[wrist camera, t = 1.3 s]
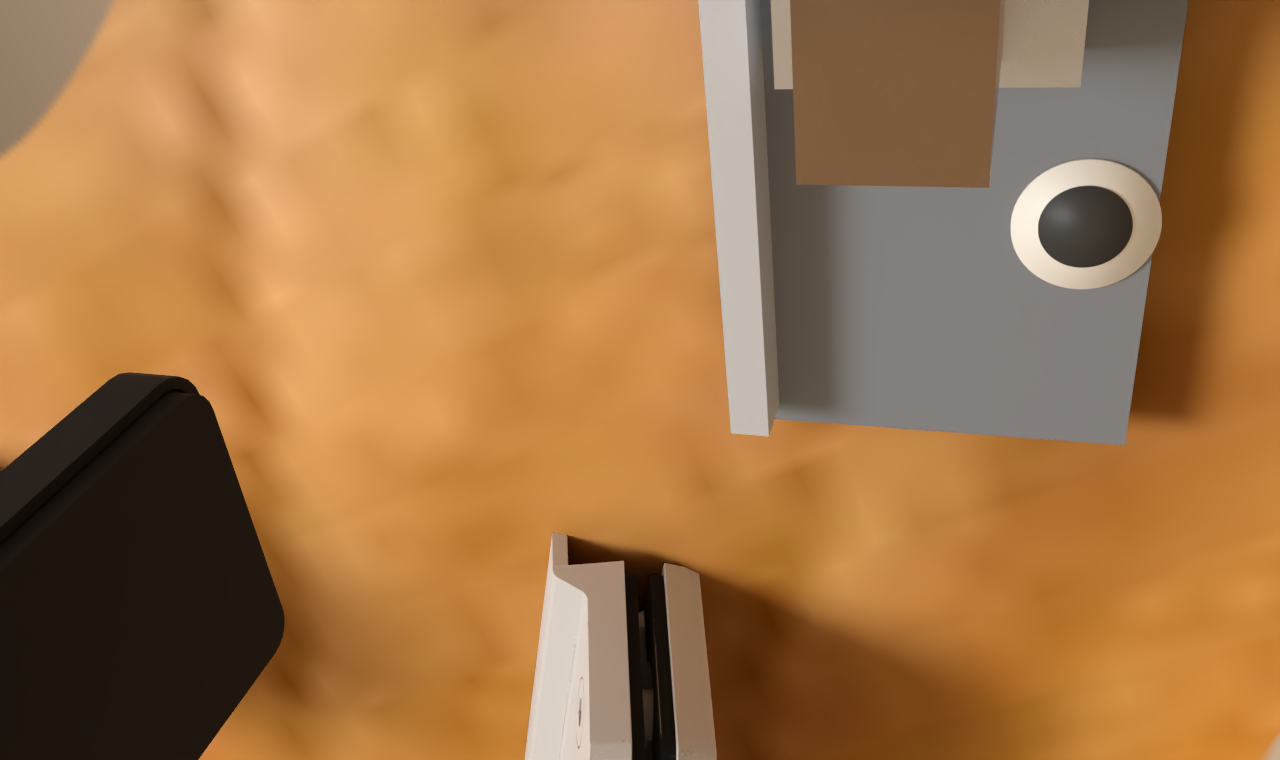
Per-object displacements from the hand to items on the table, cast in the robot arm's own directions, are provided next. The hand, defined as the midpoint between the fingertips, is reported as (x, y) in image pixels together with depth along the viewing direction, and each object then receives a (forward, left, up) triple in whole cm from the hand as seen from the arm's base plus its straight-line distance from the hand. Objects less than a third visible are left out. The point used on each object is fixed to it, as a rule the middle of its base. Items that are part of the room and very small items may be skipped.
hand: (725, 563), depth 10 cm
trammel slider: (0, +2, -19) cm, 19 cm away
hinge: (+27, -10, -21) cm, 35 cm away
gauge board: (+3, 0, -20) cm, 20 cm away
